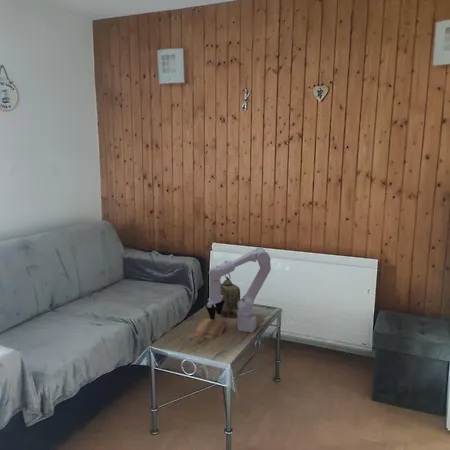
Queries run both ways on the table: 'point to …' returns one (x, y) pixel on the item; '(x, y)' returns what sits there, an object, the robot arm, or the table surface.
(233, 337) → the table surface
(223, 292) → the tabletop clock
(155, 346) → the table surface
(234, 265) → the robot arm
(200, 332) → the laid row
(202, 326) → the board
